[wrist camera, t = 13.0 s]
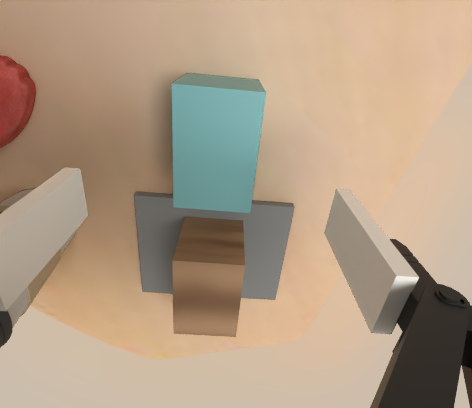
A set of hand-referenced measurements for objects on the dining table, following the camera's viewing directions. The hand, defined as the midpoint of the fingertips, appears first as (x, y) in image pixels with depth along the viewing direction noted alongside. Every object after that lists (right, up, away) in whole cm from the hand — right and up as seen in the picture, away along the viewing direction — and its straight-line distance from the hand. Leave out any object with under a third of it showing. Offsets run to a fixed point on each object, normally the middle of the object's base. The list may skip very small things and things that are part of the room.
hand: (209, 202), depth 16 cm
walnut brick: (-1, -6, +17) cm, 18 cm away
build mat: (-1, -5, +18) cm, 19 cm away
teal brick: (0, +7, +12) cm, 13 cm away
